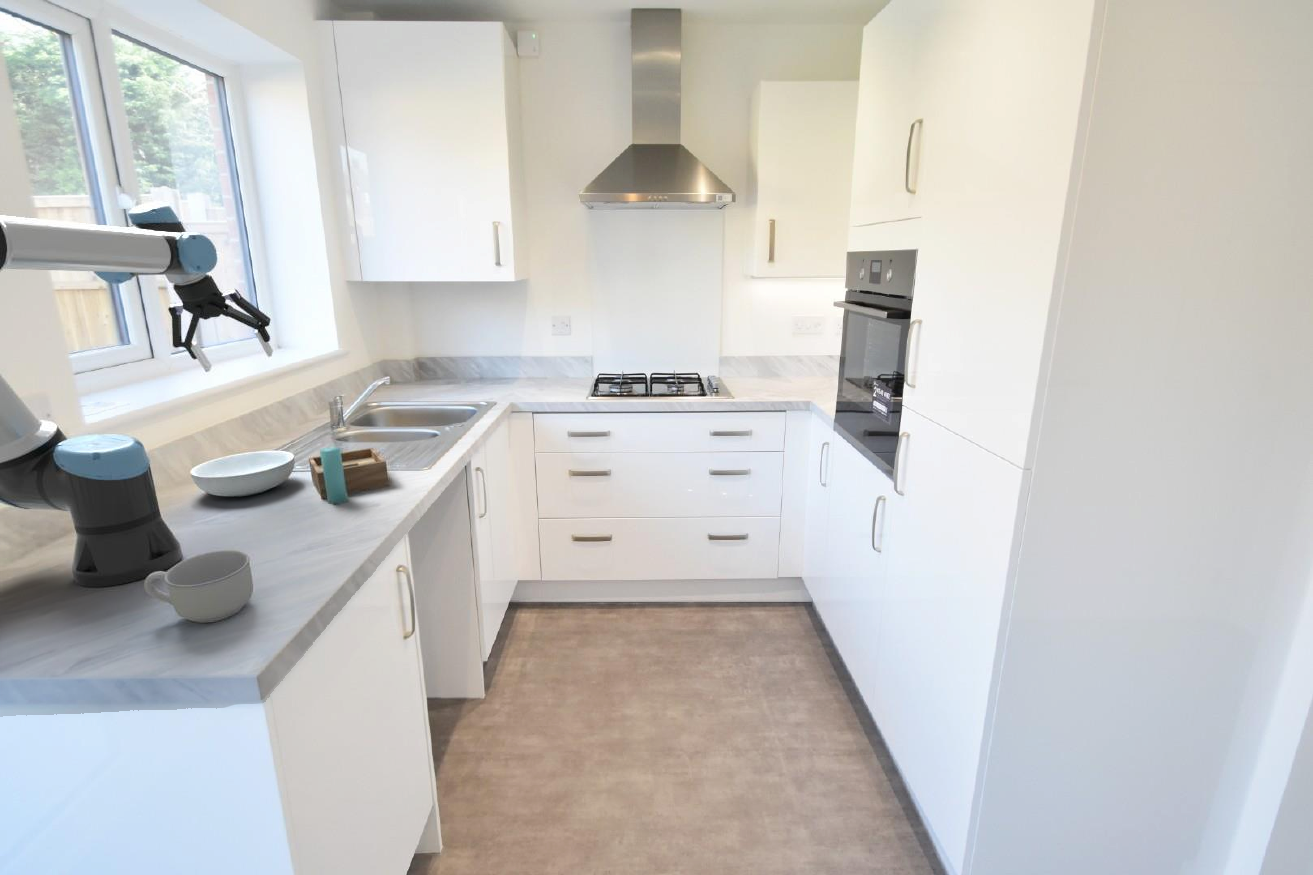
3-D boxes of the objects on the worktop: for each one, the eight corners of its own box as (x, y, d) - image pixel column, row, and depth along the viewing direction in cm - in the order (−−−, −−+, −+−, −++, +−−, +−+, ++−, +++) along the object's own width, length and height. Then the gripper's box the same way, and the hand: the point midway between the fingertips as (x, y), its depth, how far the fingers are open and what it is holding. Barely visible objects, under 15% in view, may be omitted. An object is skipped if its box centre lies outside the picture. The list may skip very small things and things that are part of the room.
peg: (349, 501, 146) (341, 449, 143) (329, 505, 144) (321, 453, 141) (346, 496, 150) (338, 445, 146) (326, 500, 147) (318, 448, 144)
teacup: (271, 593, 106) (263, 548, 104) (232, 630, 96) (221, 581, 93) (184, 596, 106) (173, 551, 103) (134, 633, 95) (121, 584, 93)
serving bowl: (294, 470, 169) (290, 445, 167) (302, 494, 152) (297, 465, 150) (197, 486, 158) (191, 459, 156) (194, 513, 141) (187, 483, 139)
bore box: (389, 485, 156) (386, 461, 155) (321, 498, 148) (317, 473, 147) (375, 470, 168) (372, 447, 166) (312, 481, 160) (308, 458, 158)
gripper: (254, 257, 145) (297, 340, 159) (131, 284, 140) (186, 367, 154) (249, 270, 140) (294, 355, 153) (120, 299, 135) (178, 383, 148)
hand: (240, 361), depth 153 cm, fingers open, 13 cm apart
